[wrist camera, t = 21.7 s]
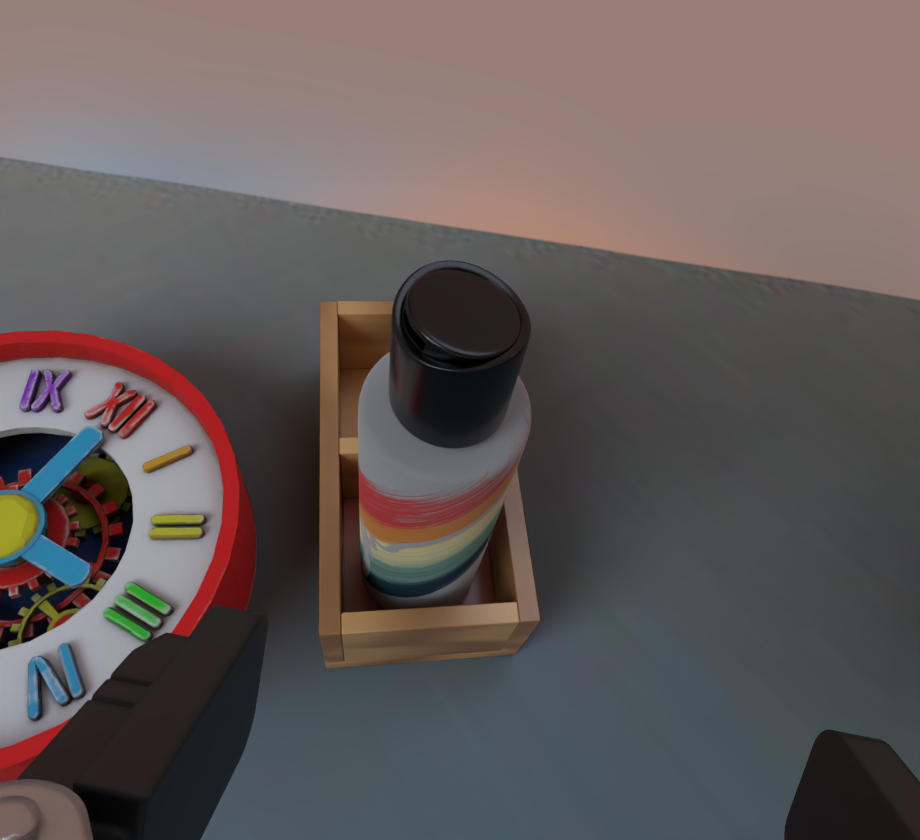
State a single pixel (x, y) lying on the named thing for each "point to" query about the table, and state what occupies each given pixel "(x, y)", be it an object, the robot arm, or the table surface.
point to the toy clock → (104, 522)
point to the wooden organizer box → (340, 575)
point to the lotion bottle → (440, 434)
